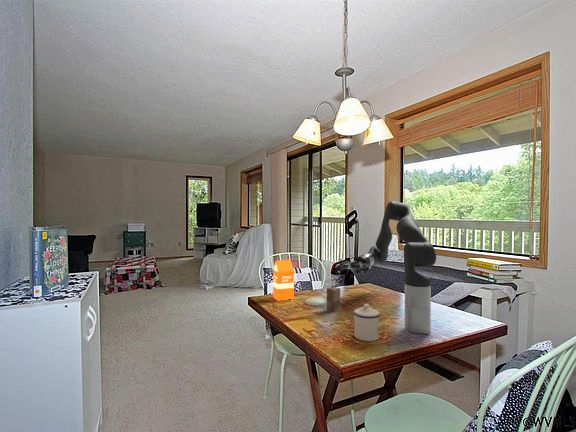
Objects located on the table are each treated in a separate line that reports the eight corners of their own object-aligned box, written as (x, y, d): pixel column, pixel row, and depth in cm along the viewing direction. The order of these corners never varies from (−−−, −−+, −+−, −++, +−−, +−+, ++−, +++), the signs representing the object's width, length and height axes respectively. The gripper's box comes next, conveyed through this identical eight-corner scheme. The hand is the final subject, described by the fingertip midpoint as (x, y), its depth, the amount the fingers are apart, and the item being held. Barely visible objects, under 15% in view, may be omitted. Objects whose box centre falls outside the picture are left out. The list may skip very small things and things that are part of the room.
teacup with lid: (384, 340, 110) (384, 307, 109) (360, 343, 108) (360, 309, 108) (368, 328, 121) (369, 298, 121) (346, 330, 120) (346, 299, 119)
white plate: (326, 306, 150) (326, 304, 150) (303, 305, 152) (303, 302, 152) (328, 300, 160) (328, 297, 160) (307, 299, 163) (307, 296, 163)
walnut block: (340, 309, 145) (340, 288, 145) (334, 312, 141) (334, 289, 141) (332, 307, 148) (332, 286, 148) (326, 310, 144) (326, 288, 144)
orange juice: (293, 299, 163) (293, 260, 163) (278, 301, 159) (277, 261, 159) (288, 295, 170) (288, 258, 170) (272, 297, 167) (272, 259, 166)
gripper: (352, 253, 170) (335, 260, 158) (376, 256, 160) (361, 265, 148) (352, 266, 171) (336, 274, 159) (376, 270, 161) (361, 280, 149)
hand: (348, 270), depth 154 cm, fingers open, 8 cm apart
